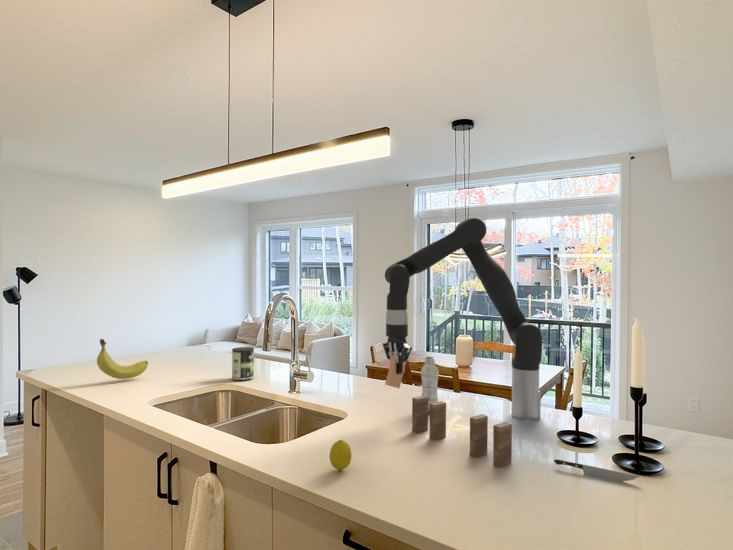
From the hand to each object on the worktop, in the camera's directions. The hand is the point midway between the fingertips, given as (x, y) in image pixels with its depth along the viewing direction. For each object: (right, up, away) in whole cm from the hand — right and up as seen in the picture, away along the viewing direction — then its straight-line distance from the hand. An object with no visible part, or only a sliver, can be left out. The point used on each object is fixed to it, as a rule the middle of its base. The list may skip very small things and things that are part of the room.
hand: (396, 372), depth 154 cm
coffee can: (-71, -17, +65) cm, 97 cm away
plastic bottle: (+13, -17, +11) cm, 24 cm away
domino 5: (+25, -17, -36) cm, 47 cm away
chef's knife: (+46, -17, -43) cm, 65 cm away
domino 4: (+21, -17, -29) cm, 40 cm away
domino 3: (+11, -17, -16) cm, 26 cm away
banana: (-126, -16, +60) cm, 141 cm away
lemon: (-17, -17, -40) cm, 46 cm away
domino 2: (+7, -17, -10) cm, 21 cm away
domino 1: (-2, -4, -1) cm, 5 cm away
